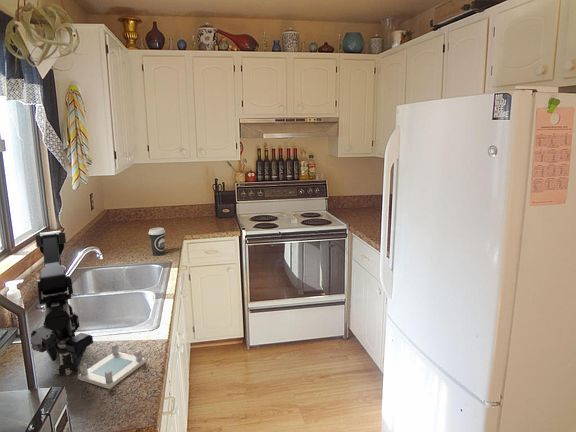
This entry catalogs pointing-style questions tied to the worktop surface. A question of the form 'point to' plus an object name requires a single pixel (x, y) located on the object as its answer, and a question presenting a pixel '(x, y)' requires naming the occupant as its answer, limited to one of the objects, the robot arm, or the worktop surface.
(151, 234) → the coffee cup
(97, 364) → the board
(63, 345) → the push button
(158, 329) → the worktop surface
